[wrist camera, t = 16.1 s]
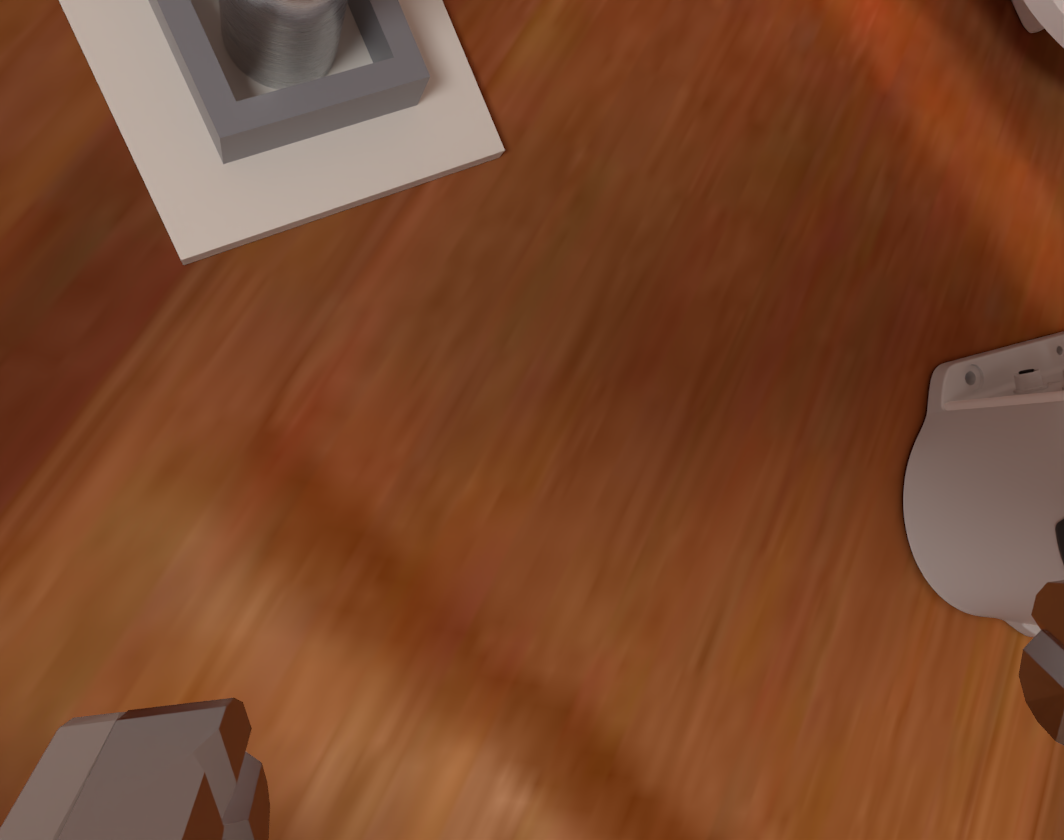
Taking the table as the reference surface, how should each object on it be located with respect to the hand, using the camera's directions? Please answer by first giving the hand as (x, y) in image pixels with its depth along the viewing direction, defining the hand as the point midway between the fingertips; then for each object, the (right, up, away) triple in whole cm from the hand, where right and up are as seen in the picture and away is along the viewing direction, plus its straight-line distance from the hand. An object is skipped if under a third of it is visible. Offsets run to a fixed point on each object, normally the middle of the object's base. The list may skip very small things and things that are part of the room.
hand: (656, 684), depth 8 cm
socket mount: (-13, +20, +28) cm, 37 cm away
